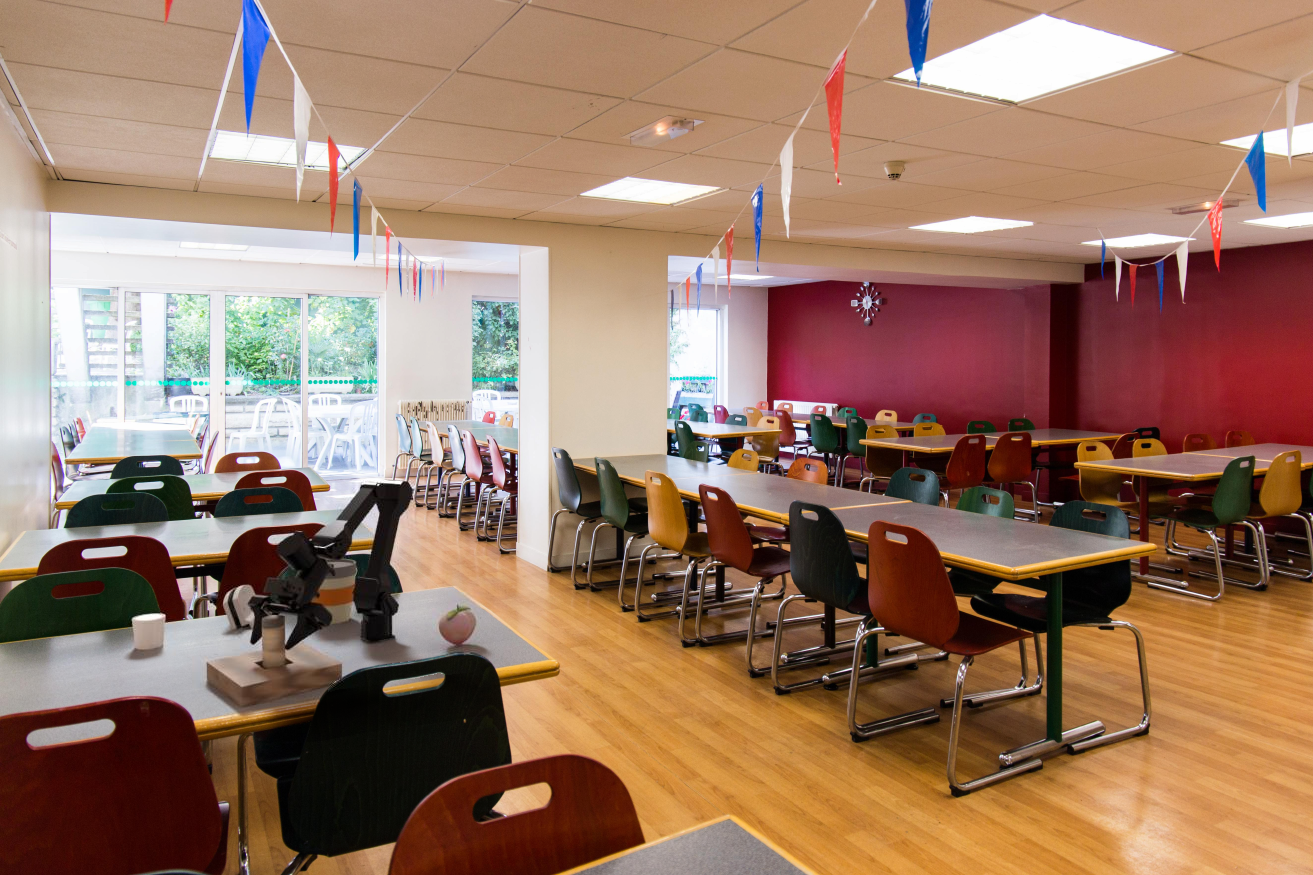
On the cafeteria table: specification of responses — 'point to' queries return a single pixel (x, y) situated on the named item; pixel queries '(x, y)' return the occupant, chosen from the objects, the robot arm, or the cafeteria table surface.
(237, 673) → the socket block
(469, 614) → the decorative fruit
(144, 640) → the white short cylinder
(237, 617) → the hinge
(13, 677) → the cafeteria table surface
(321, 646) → the cafeteria table surface
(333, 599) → the reusable coffee cup
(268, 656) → the beech pin
